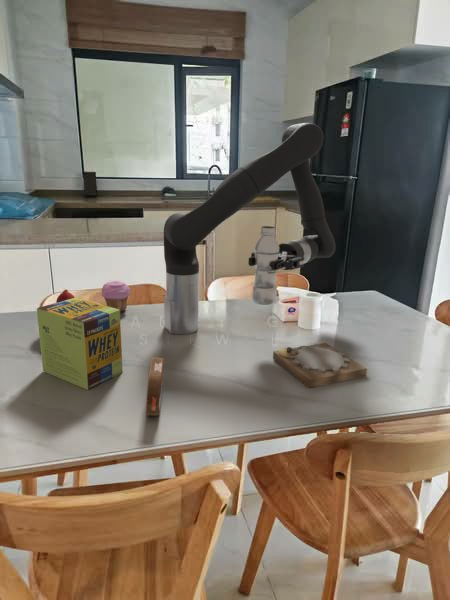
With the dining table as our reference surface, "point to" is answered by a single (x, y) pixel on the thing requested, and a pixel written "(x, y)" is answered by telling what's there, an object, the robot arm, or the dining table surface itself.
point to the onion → (64, 296)
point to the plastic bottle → (265, 267)
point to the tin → (155, 386)
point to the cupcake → (116, 294)
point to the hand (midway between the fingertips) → (261, 264)
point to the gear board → (318, 364)
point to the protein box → (80, 341)
